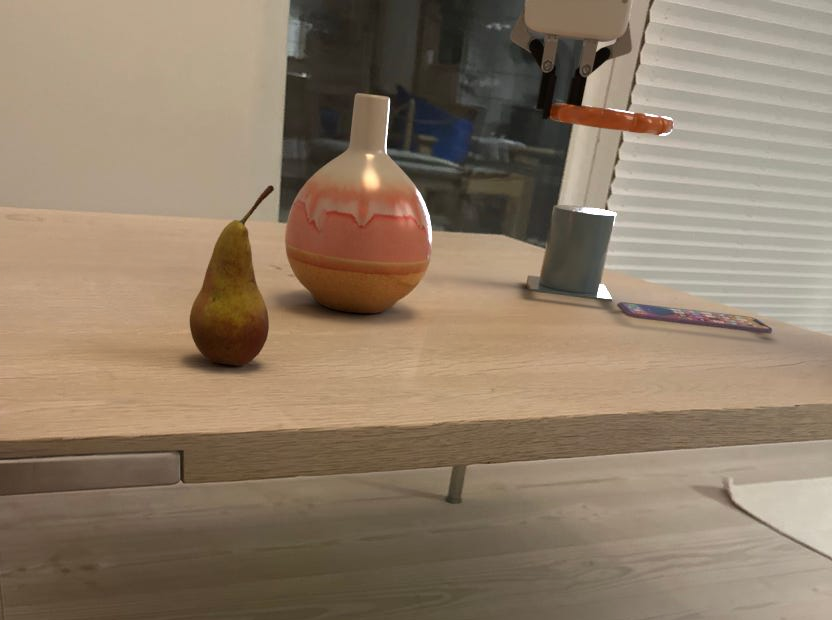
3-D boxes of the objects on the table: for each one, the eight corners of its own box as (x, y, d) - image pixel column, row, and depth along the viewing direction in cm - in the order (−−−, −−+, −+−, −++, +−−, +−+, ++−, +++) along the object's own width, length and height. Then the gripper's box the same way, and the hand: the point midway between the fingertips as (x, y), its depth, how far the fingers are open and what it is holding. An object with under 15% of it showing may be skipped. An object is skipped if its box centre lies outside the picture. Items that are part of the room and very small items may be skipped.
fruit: (219, 347, 71) (223, 174, 65) (281, 364, 69) (291, 186, 63) (172, 360, 67) (171, 176, 61) (235, 378, 64) (242, 189, 58)
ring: (658, 132, 99) (662, 116, 99) (679, 138, 89) (684, 120, 88) (544, 117, 100) (547, 100, 99) (551, 121, 89) (554, 102, 89)
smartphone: (613, 309, 101) (750, 325, 100) (627, 323, 94) (773, 339, 94) (615, 301, 100) (753, 316, 100) (629, 313, 94) (776, 330, 94)
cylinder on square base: (602, 293, 109) (621, 210, 104) (610, 308, 101) (631, 219, 96) (526, 283, 109) (541, 200, 105) (528, 298, 102) (545, 209, 97)
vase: (261, 308, 84) (271, 84, 75) (306, 284, 96) (320, 87, 86) (406, 332, 82) (434, 103, 73) (435, 305, 93) (463, 104, 84)
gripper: (677, -91, 88) (628, 128, 97) (512, -108, 89) (480, 111, 98) (692, -106, 82) (637, 130, 91) (514, -124, 82) (479, 112, 92)
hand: (556, 118), depth 95 cm, fingers closed on ring, 1 cm apart
